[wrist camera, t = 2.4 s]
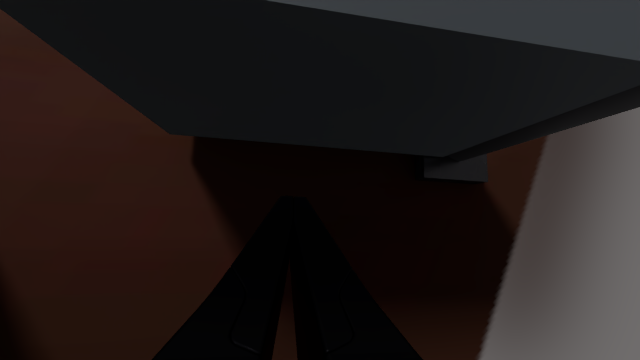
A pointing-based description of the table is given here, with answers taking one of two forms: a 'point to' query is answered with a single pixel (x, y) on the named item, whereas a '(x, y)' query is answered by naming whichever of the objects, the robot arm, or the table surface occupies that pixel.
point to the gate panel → (355, 67)
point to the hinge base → (451, 169)
